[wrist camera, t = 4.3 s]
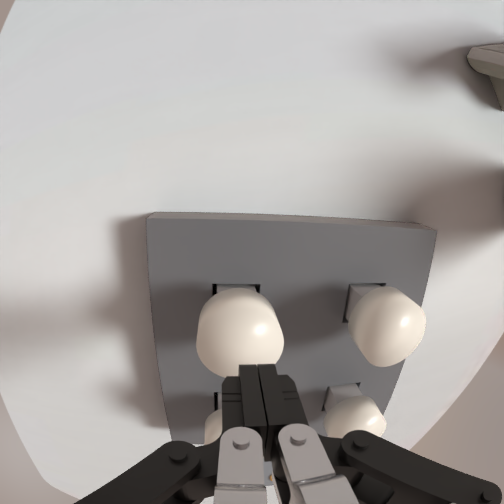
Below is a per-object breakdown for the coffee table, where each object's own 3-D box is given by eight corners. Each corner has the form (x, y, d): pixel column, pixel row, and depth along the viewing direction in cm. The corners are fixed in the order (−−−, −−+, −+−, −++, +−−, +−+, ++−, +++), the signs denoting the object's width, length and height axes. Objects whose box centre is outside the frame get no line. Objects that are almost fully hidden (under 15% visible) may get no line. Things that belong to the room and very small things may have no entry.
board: (174, 423, 25) (172, 442, 22) (154, 212, 19) (146, 218, 17) (369, 411, 27) (377, 426, 25) (418, 223, 21) (437, 230, 19)
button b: (206, 416, 23) (206, 466, 17) (204, 379, 21) (202, 431, 16) (258, 416, 23) (266, 464, 18) (261, 379, 22) (272, 430, 17)
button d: (310, 412, 24) (326, 457, 18) (318, 375, 22) (339, 422, 17) (354, 405, 24) (376, 446, 19) (366, 369, 23) (394, 411, 18)
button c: (328, 327, 21) (355, 371, 16) (337, 270, 20) (372, 304, 15) (379, 323, 22) (414, 361, 16) (391, 270, 20) (433, 300, 15)
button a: (202, 329, 20) (198, 379, 15) (201, 268, 19) (194, 306, 14) (266, 329, 21) (279, 378, 15) (270, 269, 19) (288, 307, 14)
